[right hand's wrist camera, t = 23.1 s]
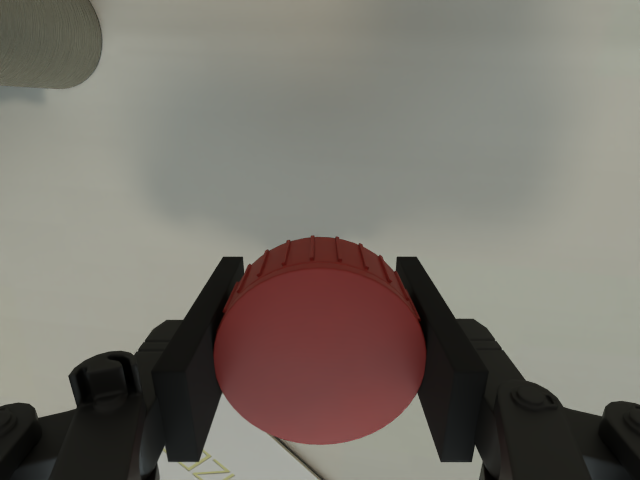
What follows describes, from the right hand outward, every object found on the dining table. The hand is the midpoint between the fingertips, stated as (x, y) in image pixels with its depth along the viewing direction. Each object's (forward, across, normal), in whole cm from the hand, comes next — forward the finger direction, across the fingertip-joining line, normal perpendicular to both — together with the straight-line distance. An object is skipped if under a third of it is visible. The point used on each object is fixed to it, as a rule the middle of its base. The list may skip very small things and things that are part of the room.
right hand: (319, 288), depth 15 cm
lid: (-4, 0, 0) cm, 4 cm away
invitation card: (+8, +8, +22) cm, 25 cm away
